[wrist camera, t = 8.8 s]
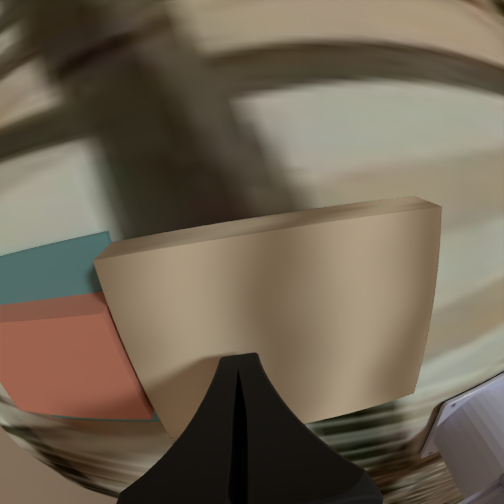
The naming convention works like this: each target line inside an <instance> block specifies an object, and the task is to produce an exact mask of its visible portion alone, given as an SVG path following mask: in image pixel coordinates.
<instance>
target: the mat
mask: <svg viewBox="0 0 504 504" xmlns="http://www.w3.org/2000/svg"><path fill="white" fill-rule="evenodd" d="M110 243H111V239H110V236H109V232H108V231H106V232H101V233H97V234H92V235H87V236H83V237H78V238H74V239H69V240H65V241H60V242H56V243H52V244H48V245H43V246H39V247H35V248H31V249H27V250H23V251H19V252H15V253H11V254H7V255H3V256H0V305H3V304H12V303H20V302H28V301H36V300H43V299H51V298H59V297H66V296H74V295H81V294H89V293H96V292H103V289H102V287H101V284H100V281H99V278H98V275H97V272H96V269H95V265H94V262H93V260H94V259H95V258H96V257H97V256H98V255H99V254H100V253H101V252H102V251H103V250H104V249H105V248H106V247H107V246H108V245H109V244H110ZM52 416H53V417H62V418H73V419H85V420H102V421H160V419H159V417H158V415H157V413H156V412H155V410H154V413H153V417H152V419H98V418H82V417H69V416H59V415H52Z"/></svg>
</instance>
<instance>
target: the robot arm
mask: <svg viewBox="0 0 504 504" xmlns="http://www.w3.org/2000/svg"><path fill="white" fill-rule="evenodd" d="M438 451H439V453H440V455H441V456H442V458H443V460H444V462H445V464H446V465H447V467H448V469H449V471H450V473H451V475H452V477H453V478H454V480H455V482H456V484H457V486H458V488H459V490H460V492H461V494H462V495H463V497H464V500H463V501H461V502H459V503H457V504H504V372H503V373H502V374H500V375H498V376H496V377H494V378H493V379H491V380H489V381H487V382H485V383H483V384H481V385H479V386H477V387H476V388H474V389H472V390H469V391H467V392H465V393H463V394H461V395H459V396H457V397H455V398H453V399H450V400H448V401H446V402H445V403H443V405H442V406H441V408H440V411H439V413H438V416H437V418H436V420H435V423H434V425H433V427H432V430H431V432H430V434H429V436H428V438H427V441H426V443H425V445H424V447H423V449H422V451H421V453H420V457H421V458H425V457H427V456H430V455H432V454H434V453H436V452H438ZM382 503H383V496H382V494H381V492H380V490H379V488H378V486H377V485H376V483H375V482H374V481H373V479H372V478H371V477H370V475H369V474H368V473H367V472H366V470H365V469H363V468H361V467H359V466H358V465H356V464H354V463H353V462H351V461H349V460H348V459H346V458H345V457H343V456H342V455H340V454H339V453H337V452H336V451H335V450H333V449H332V448H331V447H329V446H328V445H327V444H326V443H324V442H323V441H322V440H321V439H320V438H318V437H317V436H316V435H315V434H314V433H312V432H311V431H310V430H309V429H308V428H307V427H306V426H305V425H304V424H303V423H302V422H301V421H300V420H299V419H298V417H297V416H296V415H295V414H294V413H293V412H292V411H291V410H290V408H289V407H288V406H287V405H286V403H285V402H284V401H283V399H282V398H281V397H280V395H279V394H278V392H277V391H276V389H275V388H274V386H273V385H272V383H271V382H270V380H269V378H268V376H267V375H266V373H265V371H264V369H263V366H262V364H261V362H260V358H259V354H257V353H256V352H253V353H246V354H239V355H232V356H225V357H221V359H220V360H219V363H218V366H217V369H216V372H215V375H214V377H213V379H212V382H211V384H210V386H209V388H208V390H207V392H206V395H205V397H204V399H203V401H202V402H201V404H200V406H199V408H198V409H197V411H196V413H195V415H194V416H193V418H192V420H191V421H190V423H189V424H188V426H187V427H186V429H185V430H184V431H183V433H182V434H181V435H180V437H179V438H178V439H177V441H176V442H175V443H174V444H173V445H172V447H171V448H170V449H169V450H168V451H167V452H166V454H165V455H164V456H163V457H162V458H161V459H160V460H159V461H158V462H157V463H156V464H155V465H154V466H153V467H152V468H150V469H149V470H148V471H147V472H146V473H145V474H144V475H143V476H142V477H140V478H139V479H138V480H136V481H135V482H134V483H133V484H131V485H130V486H129V487H127V488H126V489H125V490H123V491H122V492H120V495H119V498H118V501H117V503H116V504H382Z"/></svg>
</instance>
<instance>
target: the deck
mask: <svg viewBox="0 0 504 504" xmlns="http://www.w3.org/2000/svg"><path fill="white" fill-rule="evenodd" d="M441 210H442V207H441V206H439V205H436V204H434V203H431V202H429V201H426V200H424V199H421V198H419V197H416V196H413V197H404V198H395V199H387V200H379V201H370V202H362V203H355V204H347V205H339V206H332V207H324V208H317V209H310V210H303V211H296V212H289V213H282V214H275V215H269V216H262V217H256V218H249V219H243V220H236V221H230V222H224V223H218V224H212V225H206V226H200V227H194V228H188V229H182V230H177V231H171V232H165V233H160V234H154V235H149V236H143V237H138V238H133V239H127V240H122V241H117V242H112V243H110V244H109V245H108V246H107V247H106V248H105V249H104V250H103V251H102V252H101V253H100V254H99V255H98V256H97V257H96V258H95V259H94V260H93V262H94V265H95V269H96V272H97V275H98V278H99V281H100V284H101V287H102V289H103V292H104V295H105V298H106V301H107V303H108V306H109V309H110V312H111V314H112V317H113V319H114V322H115V325H116V327H117V330H118V332H119V334H120V337H121V339H122V342H123V344H124V346H125V349H126V351H127V353H128V356H129V358H130V360H131V362H132V365H133V367H134V369H135V371H136V373H137V375H138V378H139V380H140V382H141V384H142V386H143V388H144V390H145V392H146V394H147V396H148V398H149V400H150V402H151V404H152V406H153V408H154V410H155V412H156V413H157V415H158V417H159V419H160V421H161V423H162V425H163V426H164V428H165V430H166V432H167V433H168V435H169V437H170V438H179V437H180V435H181V434H182V433H183V431H184V430H185V429H186V427H187V426H188V424H189V423H190V421H191V420H192V418H193V416H194V415H195V413H196V411H197V409H198V408H199V406H200V404H201V402H202V401H203V399H204V397H205V395H206V392H207V390H208V388H209V386H210V384H211V382H212V379H213V377H214V375H215V372H216V369H217V366H218V363H219V360H220V359H221V357H225V356H232V355H239V354H246V353H253V352H256V353H257V354H259V358H260V362H261V364H262V366H263V369H264V371H265V373H266V375H267V376H268V378H269V380H270V382H271V383H272V385H273V386H274V388H275V389H276V391H277V392H278V394H279V395H280V397H281V398H282V399H283V401H284V402H285V403H286V405H287V406H288V407H289V408H290V410H291V411H292V412H293V413H294V414H295V415H296V416H297V417H298V419H299V420H300V421H301V422H302V423H303V424H304V423H309V422H314V421H318V420H323V419H327V418H332V417H336V416H340V415H344V414H348V413H351V412H355V411H359V410H362V409H366V408H369V407H373V406H376V405H379V404H383V403H386V402H389V401H392V400H395V399H398V398H401V397H404V396H407V395H410V394H412V393H414V391H415V387H416V384H417V380H418V376H419V372H420V368H421V364H422V360H423V355H424V351H425V346H426V341H427V336H428V331H429V326H430V320H431V314H432V308H433V302H434V295H435V287H436V279H437V271H438V261H439V249H440V234H441Z"/></svg>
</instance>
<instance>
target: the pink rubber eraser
mask: <svg viewBox="0 0 504 504" xmlns="http://www.w3.org/2000/svg"><path fill="white" fill-rule="evenodd" d="M0 382H1V384H2V385H3V387H4V388H5V390H6V391H7V393H8V394H9V396H10V397H11V399H12V400H13V402H14V403H15V404H16V406H17V407H18V409H19V410H21V411H28V412H35V413H42V414H50V415H59V416H69V417H82V418H98V419H152V417H153V413H154V408H153V406H152V404H151V402H150V400H149V398H148V396H147V394H146V392H145V390H144V388H143V386H142V384H141V382H140V380H139V378H138V375H137V373H136V371H135V369H134V367H133V365H132V362H131V360H130V358H129V356H128V353H127V351H126V349H125V346H124V344H123V342H122V339H121V337H120V334H119V332H118V330H117V327H116V325H115V322H114V319H113V317H112V314H111V312H110V309H109V306H108V303H107V301H106V298H105V295H104V292H96V293H89V294H81V295H74V296H66V297H59V298H51V299H43V300H36V301H28V302H20V303H12V304H3V305H0Z"/></svg>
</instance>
